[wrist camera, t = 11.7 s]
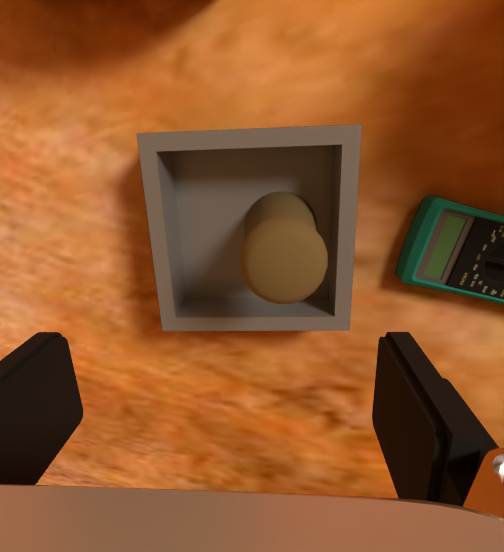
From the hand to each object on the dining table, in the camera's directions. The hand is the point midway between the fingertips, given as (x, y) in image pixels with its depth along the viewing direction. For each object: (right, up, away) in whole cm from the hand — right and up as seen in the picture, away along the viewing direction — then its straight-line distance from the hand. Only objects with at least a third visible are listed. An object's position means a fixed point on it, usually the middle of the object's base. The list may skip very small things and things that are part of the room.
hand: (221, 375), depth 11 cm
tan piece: (+3, +7, +20) cm, 21 cm away
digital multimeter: (+21, +5, +21) cm, 30 cm away
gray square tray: (+1, +7, +20) cm, 22 cm away
